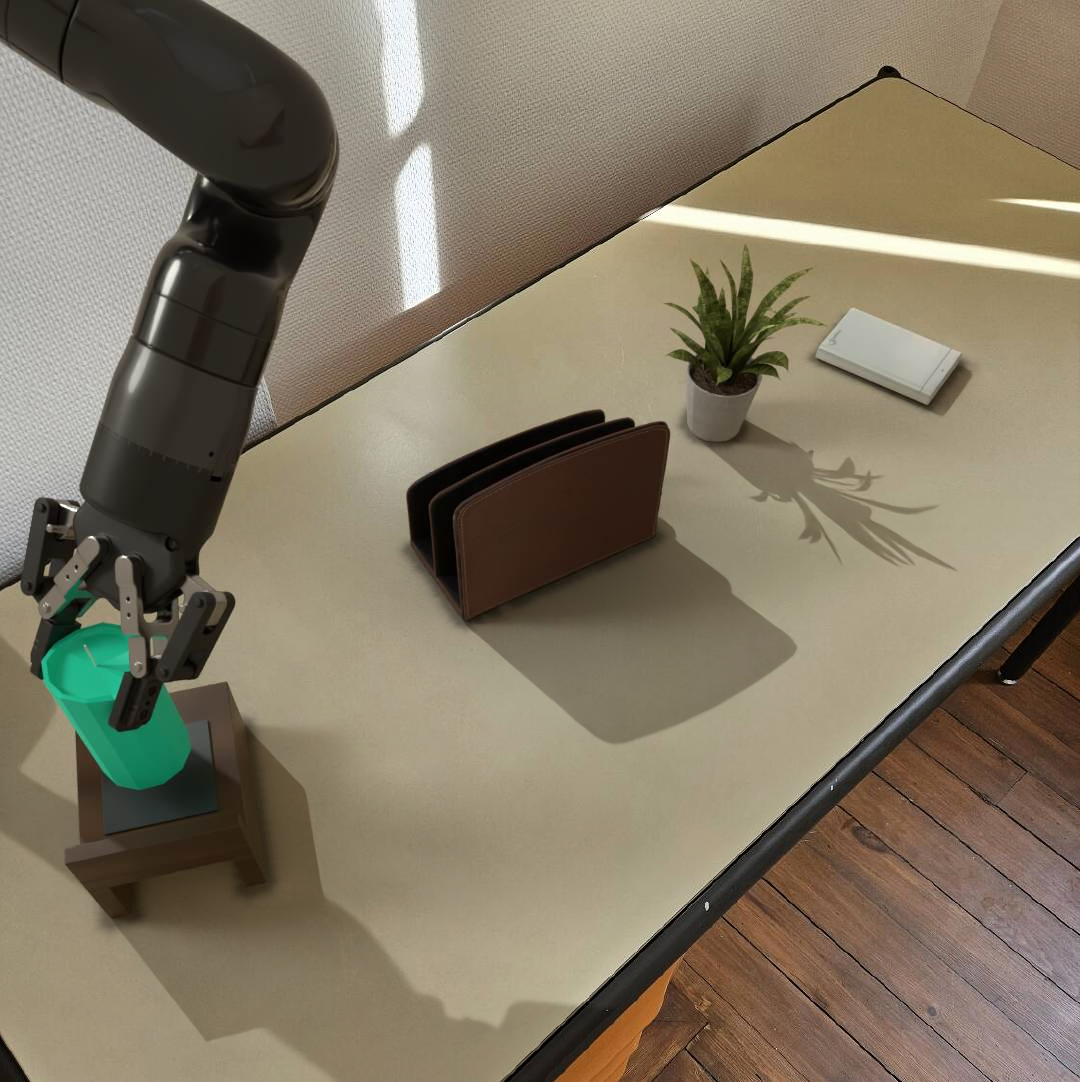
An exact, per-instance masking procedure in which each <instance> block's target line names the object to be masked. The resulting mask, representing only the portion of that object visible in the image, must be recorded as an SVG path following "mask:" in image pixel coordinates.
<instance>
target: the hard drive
mask: <svg viewBox="0 0 1080 1082" xmlns="http://www.w3.org/2000/svg"><path fill="white" fill-rule="evenodd" d="M815 353H816V354H815V357H814V358H816V359H819V360H821V361H823V362H825V363H827V364H830V365H833V366H835V367H837V368H839V369H841V370H844V371H846V372H848V373H851V374H853V375H855V376H858V377H860V378H863V379H865V380H868V381H870V382H872V383H874V384H877V385H879V386H882V387H884V388H887V389H888V390H890V391H893V392H895V393H898V394H900V395H902V396H904V397H908V398H909V399H912V400H914V401H916V402H919V403H921V404H924V405H926V406H928V405H929V404H930V403H931V401H932V400H933V399H934V397H936V395H937V393H938V392H939V391H940V390H941V388H942V386H943V385H944V384H945V382H946V381H947V380H948V378H949V377H950V375H951V374H952V373H953V371H955V369H956V368H957V366H958V364H959V363H960V361H961V359H962V356H963V352H961V351H959V350H956V349H954V348H951V347H949V346H948V345H944V344H942V343H939V342H938V341H934V340H933V339H930V338H928V337H925V336H923V335H921V334H918V333H916V332H913V331H911V330H909V329H906V328H904V327H901V326H899V325H897V324H895V323H892V322H889V321H886V320H884V319H882V318H880V317H877V316H875V315H874V314H873V315H872V314H870V313H869V312H866V311H863V310H861V309H858V308H855V307H851V308H850V309H849V310H848V311H847V313H846V314H845V315H844V316H843V318H842V319H840V321H838V323H837V325H836V326H835V327H834V328H833V329H832V330H831V332H829V334H828V335H827V336H826V337H825V339H824V340H823V341H822V342H821V344H820V345H819V346H818V348H817V351H816V352H815Z"/></svg>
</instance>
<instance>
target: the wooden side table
mask: <svg viewBox="0 0 1080 1082" xmlns="http://www.w3.org/2000/svg"><path fill="white" fill-rule="evenodd" d="M169 694H170V696H171V698H172V700H173V702H174V704H175V706H176V708H177V710H178V712H179V714H180V716H181V718H182V720H183V722H184V724H185V726H186V728H187V730H188V735H189V741H190V746H191V751H190V753H189V755H188V757H187V760H186V762H185V764H184V766H183V768H182V770H180V771H179V772H178V773H177V774H175V775H174V776H173V777H171V778H170V779H169V780H168V781H166V782H165V783H164V784H161V785H157V786H154V787H150V788H146V789H142V790H137V789H132V788H126V787H121V786H117V785H116V784H115V783H114V782H113V781H112V780H111V779H110V778H109V777H108V776H107V775H106V774H105V773H104V772H103V771H102V769H101V768H100V766H99V765H98V763H97V762H96V760H95V759H94V757H93V756H92V754H91V753H90V751H89V750H88V748H87V747H86V745H85V744H84V742H83V741H82V739H81V738H80V736H79V735H78V733H77V732H76V730H75V729H74V737H75V760H76V761H75V762H76V787H77V788H76V791H77V813H78V814H77V815H78V839H79V840H78V841H79V844H77V845H73V846H69V847H64V850H63V851H64V865H65V867H66V868H67V869H68V870H69V871H70V873H71V874H72V875H73V876H74V877H75V878H76V879H77V881H78V882H79V883H80V884H81V886H82V887H83V888H84V889H85V891H87V893H89V895H90V896H91V897H92V898H93V900H94V901H95V902H96V903H97V904H98V906H99V907H100V908H101V909H102V910H103V912H104V913H105V914H106V915H107V917H109V919H113V918H118V917H122V916H127V915H131V904H130V887H129V884H131V883H135V882H139V881H144V880H149V879H153V878H157V877H162V876H165V875H171V874H175V873H180V872H184V871H188V870H189V871H190V870H194V869H198V868H201V867H206V866H209V865H215V864H219V863H225V862H228V861H232V860H233V862H234V864H235V866H236V867H237V869H238V871H239V874H240V875H241V877H242V880H243V881H244V883H245V885H246V886H247V887H253V886H256V885H260V884H265V883H267V875H266V869H265V859H264V854H263V853H264V852H263V846H262V839H261V833H260V825H259V819H258V811H257V804H256V797H255V790H254V783H253V776H252V769H251V760H250V755H249V748H248V740H247V731H246V726H245V722H244V720H243V717H242V715H241V713H240V710H239V707H238V705H237V702H236V700H235V697H234V695H233V693H232V689H231V687H230V685H229V681H228V680H227V681H222V682H216V683H212V684H208V685H207V684H206V685H201V686H197V687H192V688H186V689H182V690H177V691H171V692H169Z"/></svg>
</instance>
